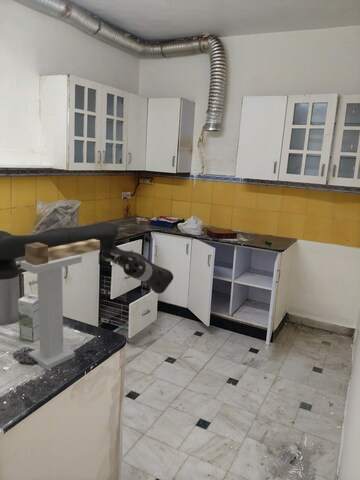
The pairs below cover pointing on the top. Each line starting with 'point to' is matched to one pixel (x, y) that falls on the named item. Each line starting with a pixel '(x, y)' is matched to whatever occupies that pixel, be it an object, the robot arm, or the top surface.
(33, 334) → the syrup box
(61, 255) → the mallet
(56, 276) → the stand
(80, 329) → the top surface
